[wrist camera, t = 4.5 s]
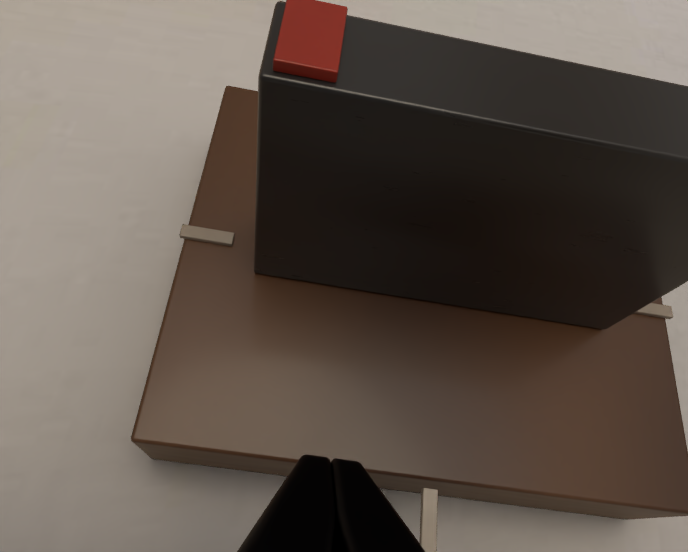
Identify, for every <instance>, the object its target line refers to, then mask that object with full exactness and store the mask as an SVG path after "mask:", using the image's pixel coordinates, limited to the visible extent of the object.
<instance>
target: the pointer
mask: <svg viewBox="0 0 688 552" xmlns="http://www.w3.org/2000/svg"><path fill="white" fill-rule="evenodd" d="M347 10H348V9H347V7H345V6H340V5H335V4H331V3H326V2H321V1H316V0H286V2H282V1H280V2H277V4H276V5H275V9H274V13H273V17H272V22H271V26H270V30H269V34H268V38H267V43H266V47H265V51H264V55H263V60H262V64H261V68H260V72H259V80H258V121H257V163H256V204H255V246H254V272H255V273H259V274H265V275H271V276H277V277H284V278H290V279H296V280H302V281H308V282H315V283H321V284H327V285H333V286H339V287H345V288H352V289H358V290H364V291H370V292H376V293H382V294H389V295H395V296H401V297H407V298H413V299H420V300H426V301H432V302H438V303H444V304H450V305H457V306H463V307H469V308H475V309H481V310H487V311H494V312H500V313H506V314H512V315H518V316H525V317H531V318H537V319H543V320H549V321H555V322H562V323H568V324H574V325H580V326H586V327H592V328H599V329H608V328H609V327H611V326H613V325H615V324H616V323H618V322H620V321H621V320H623V319H625V318H626V317H628V316H630V315H631V314H633V313H635V312H636V311H638V310H640V309H642V308H643V307H645V306H647V305H648V304H650V303H652V302H653V301H655V300H657V299H658V298H660V297H662V296H663V295H665V294H667V293H669V292H670V291H672V290H674V289H675V288H677V287H679V286H680V285H682V284H684V283H685V282H687V281H688V86H683V85H679V84H674V83H669V82H664V81H659V80H655V79H650V78H645V77H640V76H636V75H631V74H626V73H621V72H616V71H612V70H607V69H602V68H597V67H593V66H588V65H583V64H578V63H573V62H569V61H564V60H559V59H554V58H550V57H545V56H540V55H535V54H530V53H526V52H521V51H516V50H511V49H507V48H502V47H497V46H492V45H487V44H483V43H478V42H473V41H468V40H464V39H459V38H454V37H449V36H445V35H440V34H435V33H430V32H425V31H421V30H416V29H411V28H406V27H402V26H397V25H392V24H387V23H382V22H378V21H373V20H368V19H363V18H359V17H354V16H349V15H347Z"/></svg>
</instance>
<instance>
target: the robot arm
mask: <svg viewBox="0 0 688 552" xmlns="http://www.w3.org/2000/svg"><path fill="white" fill-rule="evenodd" d="M237 552H425V550H424V549H423V548H422V546H421V545H420V543H419V542H418V541H417V539H416V538H415V537H414V535H413V534H412V533H411V531H410V530H409V528H408V527H407V526H406V524H405V523H404V522H403V520H402V519H401V518H400V516H399V515H398V513H397V512H396V511H395V509H394V508H393V507H392V505H391V504H390V502H389V501H388V500H387V498H386V497H385V496H384V494H383V493H382V492H381V490H380V489H379V487H378V486H377V485H376V483H375V482H374V481H373V479H372V478H371V477H370V475H369V474H368V472H367V471H366V470H365V468H364V467H363V466H362V464H361V463H359V462H358V461H353V460H345V459H337V458H335V459H333V460H332V461H330V459H328V458H327V457H322V456H315V455H307V454H306V455H302V456H301V457H300V459H299V460H298V462H297V463H296V465H295V466H294V468H293V469H292V471H291V472H290V474H289V475H288V477H287V478H286V480H285V481H284V483H283V484H282V486H281V487H280V488H279V490H278V491H277V493H276V494H275V496H274V497H273V499H272V500H271V502H270V503H269V505H268V506H267V508H266V509H265V511H264V512H263V514H262V515H261V517H260V518H259V520H258V521H257V523H256V524H255V526H254V527H253V529H252V530H251V532H250V533H249V535H248V536H247V538H246V539H245V541H244V542H243V544H242V545H241V547H240V548H239V550H238V551H237Z"/></svg>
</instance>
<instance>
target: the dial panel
mask: <svg viewBox="0 0 688 552" xmlns="http://www.w3.org/2000/svg"><path fill="white" fill-rule="evenodd" d="M257 121H258V91H253V90H248V89H242V88H237V87H232V86H226V88H225V91H224V95H223V98H222V102H221V106H220V110H219V113H218V117H217V121H216V124H215V128H214V132H213V135H212V139H211V143H210V147H209V150H208V154H207V158H206V161H205V165H204V169H203V173H202V176H201V180H200V184H199V187H198V191H197V195H196V199H195V202H194V206H193V210H192V213H191V217H190V221H189V225H184V224H183V225H182V228H181V232H180V238H183V239H184V243H183V247H182V251H181V254H180V258H179V262H178V265H177V269H176V273H175V276H174V280H173V284H172V288H171V291H170V295H169V299H168V302H167V306H166V310H165V314H164V317H163V321H162V325H161V328H160V332H159V336H158V340H157V343H156V347H155V351H154V354H153V358H152V362H151V366H150V369H149V373H148V377H147V380H146V384H145V388H144V391H143V395H142V399H141V403H140V406H139V410H138V414H137V417H136V421H135V425H134V429H133V432H132V436H131V441H132V442H133V443H135V444H136V445H137V446H138V447H139V448H140V449H141V450H143V451H144V452H145V453H146V454H147V455H148V456H149V457H151V458H152V459H157V460H165V461H173V462H180V463H188V464H196V465H204V466H212V467H220V468H227V469H235V470H243V471H251V472H259V473H267V474H274V475H282V476H288V475H289V474H290V472H291V471H292V469H293V468H294V466H295V465H296V463H297V462H298V460H299V459H300V457H301V456H302V455H306V454H307V455H315V456H322V457H327V458H328V459H330V461H332V460H333V459H335V458H337V459H345V460H353V461H358V462H359V463H361V464H362V466H363V467H364V468H365V470H366V471H367V472H368V474H369V475H370V477H371V478H372V479H373V481H374V482H375V483H376V485H377V486H378V487H379V488H384V489H392V490H400V491H407V492H415V493H421V517H420V545H421V546H422V548H423V549H424V550H425V552H436V545H437V506H438V495H439V496H447V497H454V498H462V499H470V500H478V501H486V502H493V503H501V504H509V505H517V506H525V507H533V508H540V509H548V510H556V511H564V512H572V513H580V514H587V515H595V516H603V517H611V518H619V519H641V518H657V517H674V516H688V452H687V446H686V440H685V434H684V428H683V422H682V416H681V410H680V404H679V399H678V393H677V387H676V381H675V375H674V369H673V363H672V357H671V351H670V345H669V340H668V334H667V328H666V322H665V318H666V319H671V318H673V314H672V308H671V306H666V305H663V304H662V298H661V297H660V298H658V299H657V300H655V301H653V302H652V303H650V304H648V305H647V306H645V307H643V308H642V309H640V310H638V311H636V312H635V313H633V314H631V315H630V316H628V317H626V318H625V319H623V320H621V321H620V322H618V323H616V324H615V325H613V326H611V327H609V328H608V329H599V328H592V327H586V326H580V325H574V324H568V323H562V322H555V321H549V320H543V319H537V318H531V317H525V316H518V315H512V314H506V313H500V312H494V311H487V310H481V309H475V308H469V307H463V306H457V305H450V304H444V303H438V302H432V301H426V300H420V299H413V298H407V297H401V296H395V295H389V294H382V293H376V292H370V291H364V290H358V289H352V288H345V287H339V286H333V285H327V284H321V283H315V282H308V281H302V280H296V279H290V278H284V277H277V276H271V275H265V274H259V273H255V272H254V246H255V204H256V163H257Z"/></svg>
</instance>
